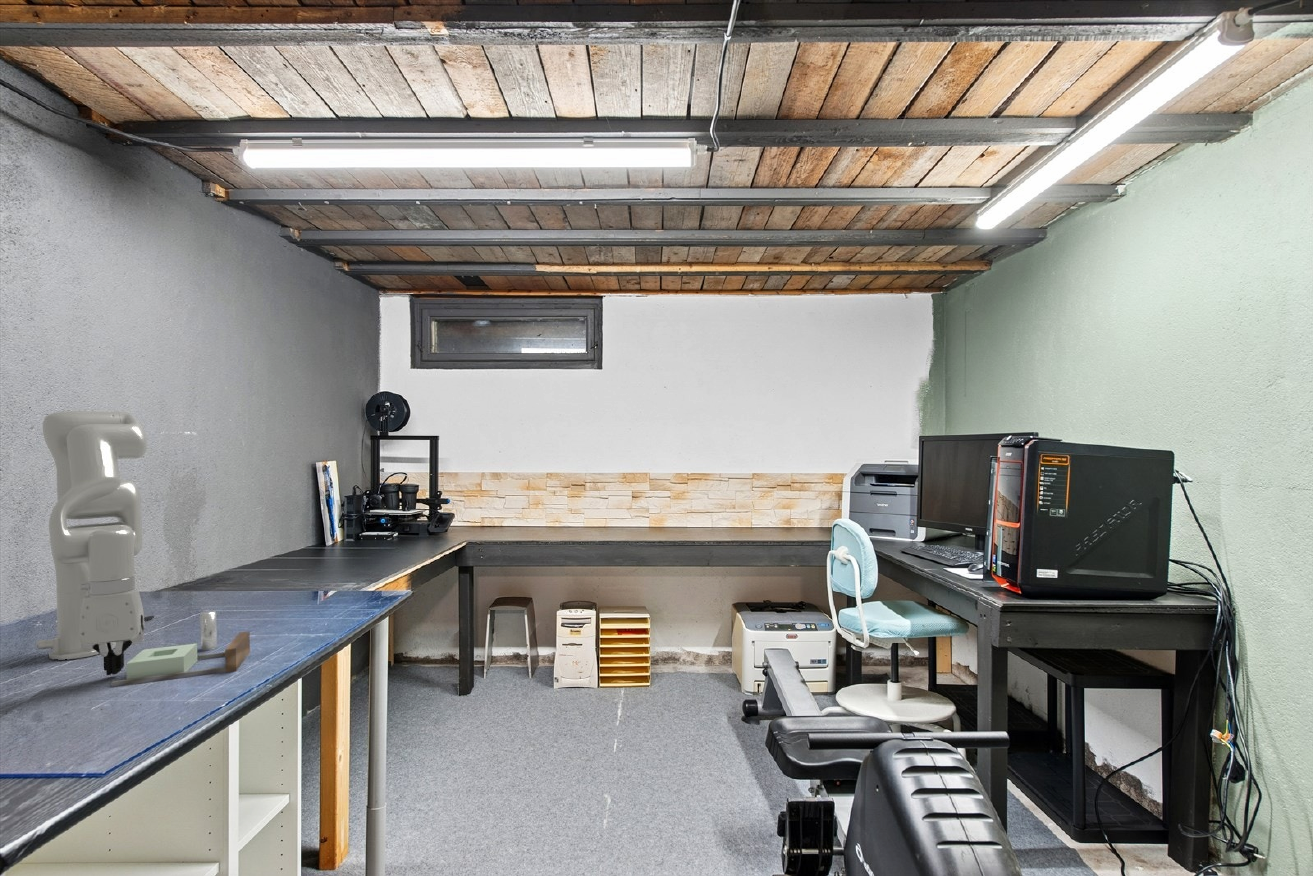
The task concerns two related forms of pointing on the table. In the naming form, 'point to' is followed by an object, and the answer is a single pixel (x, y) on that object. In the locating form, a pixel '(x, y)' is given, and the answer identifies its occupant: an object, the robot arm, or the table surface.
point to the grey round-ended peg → (208, 630)
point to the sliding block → (162, 661)
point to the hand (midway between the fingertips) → (114, 672)
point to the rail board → (232, 658)
